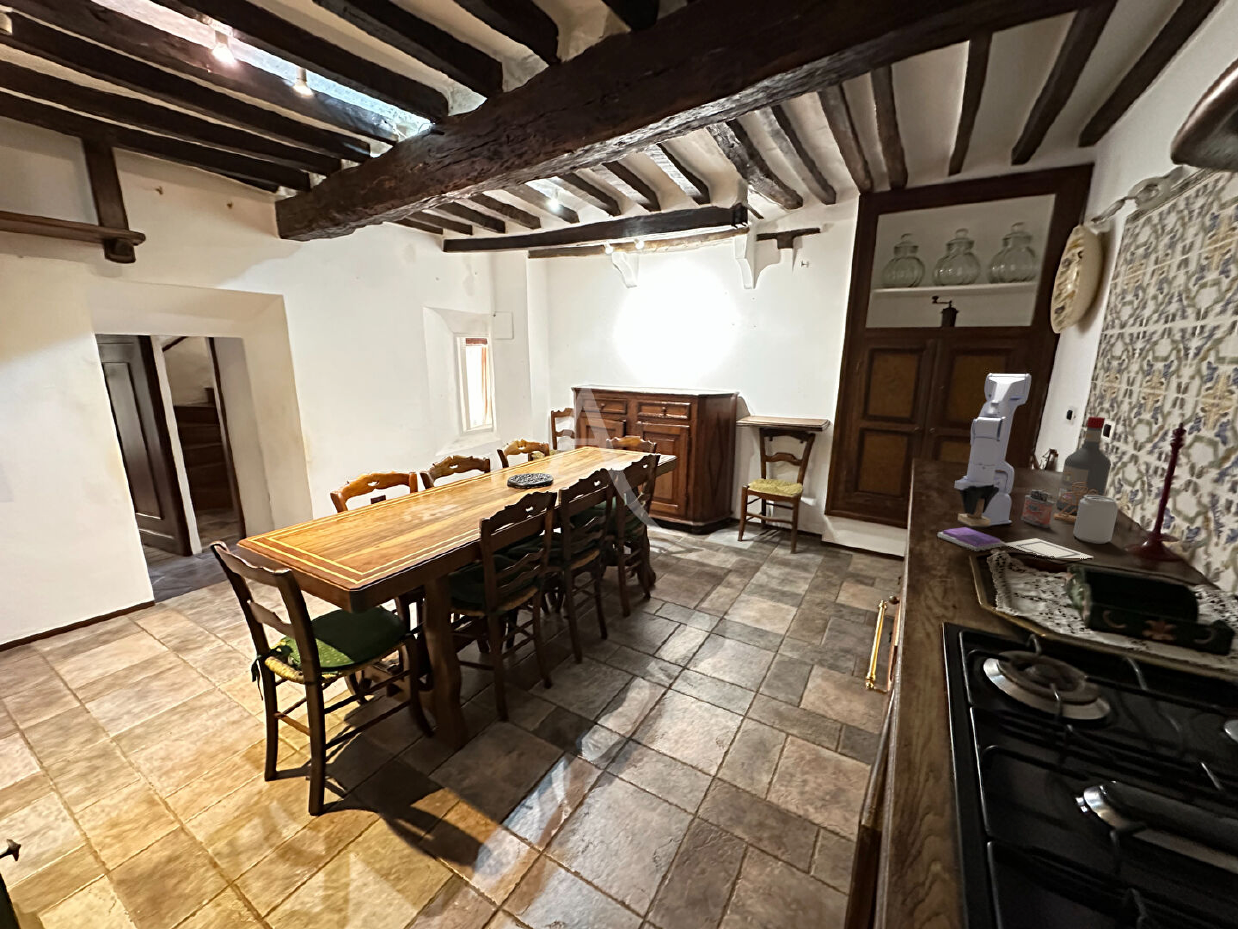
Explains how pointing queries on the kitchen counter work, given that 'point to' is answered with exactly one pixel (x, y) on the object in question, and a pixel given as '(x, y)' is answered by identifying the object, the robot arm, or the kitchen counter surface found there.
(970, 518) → the stamp
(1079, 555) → the marked card
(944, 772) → the kitchen counter surface
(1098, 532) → the can
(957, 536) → the ink pad
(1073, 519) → the gingerbread man figurine
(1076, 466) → the liquor
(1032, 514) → the lighter
